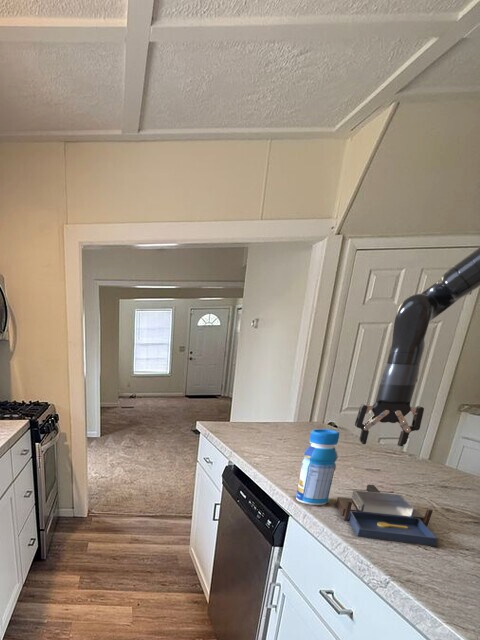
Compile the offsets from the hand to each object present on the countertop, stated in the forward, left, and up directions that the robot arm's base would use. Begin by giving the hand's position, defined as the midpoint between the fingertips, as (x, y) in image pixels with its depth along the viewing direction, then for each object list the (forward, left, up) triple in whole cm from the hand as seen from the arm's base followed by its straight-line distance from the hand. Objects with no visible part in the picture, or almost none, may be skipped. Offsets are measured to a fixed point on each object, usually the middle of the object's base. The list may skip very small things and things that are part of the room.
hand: (381, 444), depth 109 cm
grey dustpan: (0, +9, -14) cm, 17 cm away
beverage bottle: (+15, +6, -16) cm, 23 cm away
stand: (0, +12, -16) cm, 20 cm away
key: (-1, +20, -16) cm, 25 cm away
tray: (0, +22, -16) cm, 27 cm away
